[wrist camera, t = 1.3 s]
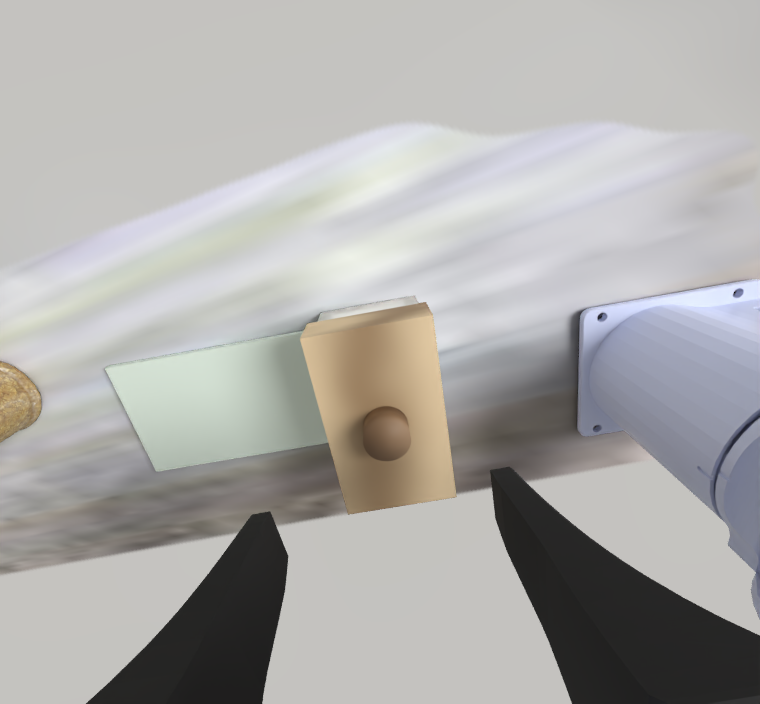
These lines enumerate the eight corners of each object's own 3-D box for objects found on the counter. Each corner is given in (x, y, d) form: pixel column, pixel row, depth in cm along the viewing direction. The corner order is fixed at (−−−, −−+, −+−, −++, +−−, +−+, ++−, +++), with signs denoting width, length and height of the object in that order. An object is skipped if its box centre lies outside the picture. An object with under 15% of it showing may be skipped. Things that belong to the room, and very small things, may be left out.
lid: (425, 302, 17) (437, 324, 14) (448, 469, 21) (462, 516, 18) (307, 323, 17) (294, 349, 14) (349, 486, 21) (346, 534, 18)
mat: (306, 329, 20) (305, 332, 20) (334, 438, 23) (334, 441, 23) (109, 365, 21) (104, 368, 21) (159, 467, 24) (156, 471, 23)
